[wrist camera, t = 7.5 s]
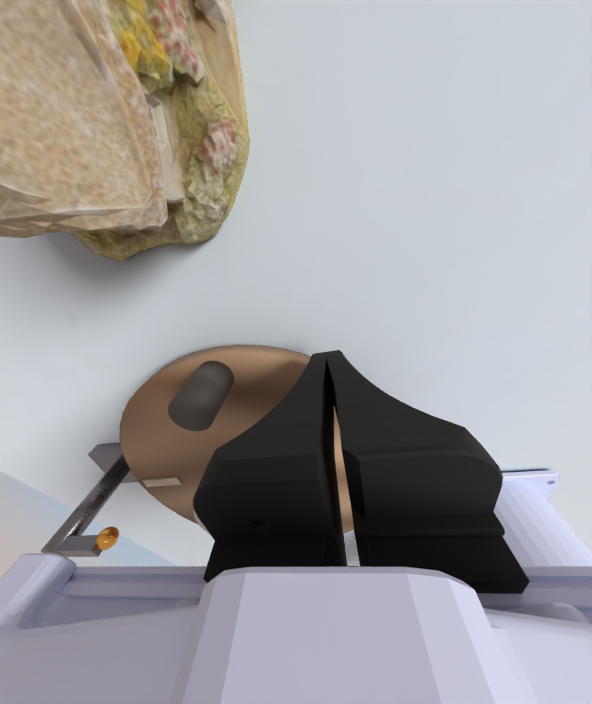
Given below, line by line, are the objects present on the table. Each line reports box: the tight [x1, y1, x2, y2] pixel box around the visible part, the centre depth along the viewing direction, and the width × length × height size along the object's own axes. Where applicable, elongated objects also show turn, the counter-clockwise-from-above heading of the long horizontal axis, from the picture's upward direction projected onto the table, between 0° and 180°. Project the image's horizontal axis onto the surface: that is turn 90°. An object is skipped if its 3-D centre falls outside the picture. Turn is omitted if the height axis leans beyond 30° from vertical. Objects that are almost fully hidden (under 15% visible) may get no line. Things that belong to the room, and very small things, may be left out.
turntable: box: [120, 345, 354, 533], centre depth 16 cm, size 20×20×4 cm
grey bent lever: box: [41, 443, 139, 557], centre depth 18 cm, size 4×6×7 cm, turn 102°
